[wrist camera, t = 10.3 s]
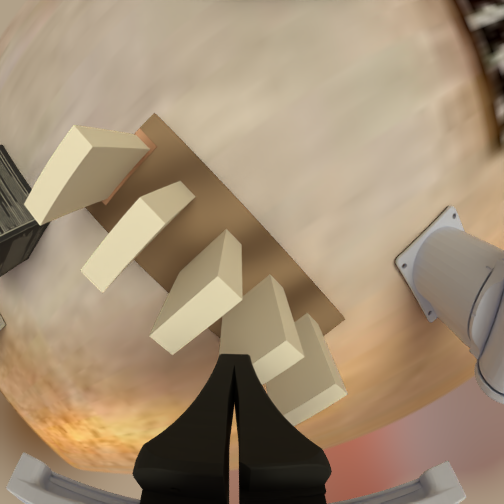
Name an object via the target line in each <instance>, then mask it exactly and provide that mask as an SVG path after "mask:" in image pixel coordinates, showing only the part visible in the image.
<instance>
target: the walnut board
mask: <svg viewBox="0 0 504 504" xmlns="http://www.w3.org/2000/svg"><path fill="white" fill-rule="evenodd" d="M134 135H137V136H138V137H139V138H140V139H141V140H142V141H143V142H144V143H145V145H146V146H147V147H148V148H149V149H150V150H149V151H148V152H147V153H146V154H145V155H144V156H143V158H142V159H141V160H140V161H139V162H138V163H137V164H136V165H135V166H134V168H133V169H132V170H131V171H130V172H129V173H128V174H127V176H126V177H125V178H124V179H123V180H122V181H121V183H120V184H119V185H118V186H117V187H116V189H115V190H114V191H113V192H112V194H111V195H110V196H109V197H108V199H105V200H102V201H100V202H97V203H94V204H92V205H89V206H86V209H87V210H88V211H89V212H90V213H91V214H92V215H93V216H94V218H95V219H96V220H97V221H98V222H99V223H100V224H101V225H102V226H103V227H104V229H105V230H106V231H107V232H108V233H110V231H111V230H112V229H113V228H114V227H115V225H116V224H117V223H118V222H119V221H120V219H121V218H122V217H123V216H124V215H125V214H126V212H127V211H128V210H129V209H130V208H131V207H132V205H133V204H134V203H135V202H136V201H137V200H138V199H139V198H140V197H141V196H144V195H146V194H148V193H151V192H153V191H156V190H158V189H161V188H163V187H166V186H168V185H171V184H173V183H176V182H178V181H181V182H182V183H183V184H184V185H185V186H186V187H187V188H188V189H189V190H190V191H191V192H192V193H193V194H194V195H195V196H196V197H195V198H194V199H193V200H192V201H191V202H190V203H189V204H188V205H187V206H186V207H185V208H184V209H183V210H182V211H181V212H180V213H179V214H178V215H177V216H176V217H175V218H174V219H173V220H172V221H171V222H170V223H169V224H168V225H167V226H166V227H165V228H164V229H163V230H162V231H161V232H160V233H159V234H158V235H157V236H156V237H155V238H154V239H153V240H152V241H151V242H150V243H149V244H148V245H147V246H146V247H145V248H144V249H143V250H142V251H141V253H140V254H139V255H138V256H137V257H136V258H135V259H134V260H135V261H136V262H137V263H138V264H139V265H140V266H141V267H142V268H143V269H144V270H145V271H146V272H147V273H148V274H149V275H150V276H151V277H153V278H154V279H155V280H156V281H157V282H158V283H159V284H160V285H161V286H162V287H163V288H164V289H165V290H166V291H167V292H168V293H170V290H171V288H172V286H173V284H174V282H175V280H176V278H177V276H178V274H179V272H180V271H181V270H182V269H183V268H184V267H186V266H187V265H188V264H189V263H190V262H191V261H192V260H193V259H194V258H195V257H196V256H197V255H198V254H199V253H201V252H202V251H203V250H204V249H205V248H206V247H207V246H208V245H209V244H210V243H211V242H212V241H214V240H215V239H216V238H217V237H218V236H219V235H220V234H221V233H222V232H223V231H225V230H226V229H227V230H228V231H229V232H230V233H231V234H232V235H233V236H234V237H235V238H236V239H237V240H238V241H239V242H240V243H241V245H242V297H243V296H244V295H245V294H246V293H248V292H249V291H250V290H251V289H253V288H254V287H255V286H256V285H257V284H259V283H260V282H261V281H262V280H263V279H265V278H266V277H267V276H268V275H269V274H270V275H271V276H272V277H273V278H274V279H275V280H276V281H277V282H278V283H279V284H280V285H281V286H282V287H283V289H284V292H285V295H286V298H287V301H288V304H289V308H290V311H291V314H292V317H293V320H294V322H296V321H297V320H298V319H300V318H301V317H302V316H304V315H305V314H306V313H308V314H309V315H310V316H311V317H312V318H313V319H314V320H315V321H316V322H317V323H318V325H319V327H320V330H321V332H322V334H323V336H324V335H325V334H327V333H328V332H329V331H331V330H332V329H333V328H335V327H336V326H337V325H338V324H340V323H341V322H342V321H344V320H345V319H344V317H343V316H342V314H341V313H340V312H339V311H338V310H337V309H336V308H335V306H334V305H333V304H332V303H331V302H330V301H329V300H328V298H327V297H326V296H325V295H324V294H323V293H322V292H321V290H320V289H319V288H318V287H317V286H316V285H315V284H314V283H313V281H312V280H311V279H310V278H309V277H308V276H307V275H306V273H305V272H304V271H303V270H302V269H301V268H300V267H299V266H298V265H297V263H296V262H295V261H294V260H293V259H292V258H291V257H290V256H289V255H288V253H287V252H286V251H285V250H284V249H283V248H282V247H281V246H280V245H279V243H278V242H277V241H276V240H275V239H274V238H273V237H272V236H271V235H270V234H269V232H268V231H267V230H266V229H265V228H264V227H263V226H262V225H261V224H260V223H259V222H258V220H257V219H256V218H255V217H254V216H253V215H252V214H251V213H250V212H249V211H248V210H247V209H246V207H245V206H244V205H243V204H242V203H241V202H240V201H239V200H238V199H237V198H236V197H235V196H234V195H233V194H232V192H231V191H230V190H229V189H228V188H227V187H226V186H225V185H224V184H223V183H222V182H221V181H220V180H219V179H218V178H217V177H216V175H215V174H214V173H213V172H212V171H211V170H210V169H209V168H208V167H207V166H206V165H205V164H204V163H203V162H202V161H201V160H200V159H199V158H198V157H197V156H196V154H195V153H194V152H193V151H192V150H191V149H190V148H189V147H188V146H187V145H186V144H185V143H184V142H183V141H182V140H181V139H180V138H179V137H178V136H177V135H176V134H175V133H174V132H173V131H172V130H171V129H170V128H169V127H168V126H167V125H166V124H165V123H164V122H163V121H162V120H161V119H160V118H159V117H158V116H157V115H156V114H155V113H154V114H153V115H152V116H151V117H150V118H149V119H148V120H147V121H146V122H145V123H144V124H143V125H142V126H141V127H140V128H139V129H138V130H137V132H136V133H135V134H134ZM221 327H222V317H221V318H219V319H218V320H217V321H215V322H214V323H213V324H212V325H210V326H209V327H208V328H209V329H210V330H211V331H212V332H213V333H214V334H216V335H217V336H218V337H219V338H220V337H221Z"/></svg>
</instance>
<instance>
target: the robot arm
mask: <svg viewBox="0 0 504 504" xmlns="http://www.w3.org/2000/svg"><path fill="white" fill-rule="evenodd" d="M453 214H454V215H453ZM452 216H453V217H452ZM404 263H405V265H404V267H402V265H403V264H404ZM396 265H397V267H398V268H399V270H400V272H401V273H402V275H403V277H404V279H405V280H406V282H407V284H408V285H409V287H410V289H411V291H412V292H413V294H414V296H415V298H416V299H417V301H418V303H419V305H420V307H421V309H422V310H423V312H424V314H425V316H426V318H427V320H428V321H429V322H433V321H434V320H435V319H436V318H439V319H440V320H441V321H442V322H443V323H444V324H445V325H446V326H447V327H448V328H449V329H450V330H451V331H452V332H453V333H454V334H455V335H456V336H457V337H458V338H459V339H460V340H461V341H462V342H463V343H464V344H465V345H467V346H468V347H469V348H470V352H471V353H472V354H473V355H474V356H475V357H476V359H477V361H476V364H475V369H474V372H475V378H476V380H477V383H478V385H479V386H480V388H481V389H482V390H483V391H484V393H485V394H486V395H487V396H488V397H490V398H491V399H493V400H494V401H496V402H499V403H502V404H504V250H502V249H500V248H498V247H496V246H494V245H492V244H490V243H488V242H485V241H483V240H481V239H479V238H477V237H475V236H473V235H470V234H468V233H466V232H465V231H464V228H463V226H462V223H461V221H460V218H459V216H458V214H457V211H456V209H455V207H453V206H449V207H448V208H447V209H446V210H445V211H444V212H443V213H442V214H441V215H440V216H439V217H438V218H437V219H436V220H435V221H434V222H433V223H432V224H431V225H430V226H429V227H428V228H427V229H426V230H425V231H424V232H423V233H422V234H421V235H420V236H419V237H418V238H417V239H416V240H415V241H414V242H413V243H412V244H411V245H410V246H409V247H408V248H407V249H406V250H405V251H404V252H403V253H401V254H400V255H399V256H398V257H397V259H396ZM429 311H430V312H429ZM428 312H429V313H428ZM234 402H235V413H236V422H237V431H238V442H239V504H327V503H326V499H325V493H326V489H325V483H326V481H327V480H328V478H329V477H330V475H331V472H332V471H331V467H330V464H329V461H328V459H327V457H326V455H325V453H324V451H323V450H322V448H320V447H319V446H317V445H316V444H314V443H313V442H312V441H310V440H309V439H308V438H306V437H305V436H304V435H303V434H301V433H300V432H299V431H298V430H297V429H296V428H295V427H294V426H293V425H292V424H291V423H290V422H289V421H288V420H287V419H286V418H285V417H284V416H283V415H282V414H281V412H280V411H279V410H278V409H277V407H276V406H275V405H274V403H273V402H272V401H271V399H270V398H269V396H268V395H267V393H266V391H265V390H264V388H263V386H262V384H261V383H260V381H259V379H258V377H257V375H256V372H255V370H254V368H253V365H252V362H251V358H250V356H249V355H248V354H221V355H219V358H218V361H217V364H216V366H215V368H214V370H213V372H212V374H211V376H210V378H209V380H208V381H207V383H206V385H205V386H204V388H203V389H202V391H201V392H200V394H199V395H198V396H197V398H196V399H195V400H194V402H193V403H192V404H191V405H190V407H189V408H188V409H187V410H186V411H185V412H184V413H183V414H182V415H181V416H180V417H179V418H178V419H177V420H176V421H175V422H174V423H173V424H172V425H170V426H169V427H168V428H167V429H165V430H164V431H163V432H162V433H160V434H159V435H158V436H156V437H155V438H153V439H152V440H150V441H149V442H147V443H145V444H144V445H143V447H142V448H141V450H140V452H139V454H138V457H137V459H136V462H135V466H134V470H133V476H134V478H135V479H136V481H137V482H138V484H139V485H140V487H141V488H142V489H143V490H142V495H141V500H138V499H133V498H129V497H125V496H122V495H118V494H114V493H111V492H107V491H104V490H101V489H97V488H94V487H92V486H89V485H86V484H83V483H80V482H77V481H75V480H72V479H70V478H67V477H65V476H62V475H60V474H57V473H55V472H53V471H51V469H50V468H49V467H48V466H47V465H46V464H45V463H44V462H42V461H40V460H39V459H36V458H34V457H32V456H30V455H28V454H26V453H23V454H22V456H21V458H20V460H19V462H18V464H17V466H16V468H15V470H14V472H13V474H12V476H11V478H10V481H9V483H8V485H7V487H6V488H7V490H8V491H10V492H11V493H12V494H13V495H14V496H16V497H17V498H18V499H19V500H21V501H22V502H23V503H25V504H229V445H230V434H231V426H232V419H233V410H234ZM465 498H466V495H465V493H464V491H463V488H462V486H461V484H460V482H459V481H458V479H457V477H456V475H455V473H454V471H453V469H452V467H451V465H450V463H449V461H446V462H444V463H441V464H439V465H437V466H435V467H432V468H430V469H428V470H427V471H425V472H424V473H423V474H422V475H421V476H420V477H419V478H418V479H416V480H413V481H410V482H408V483H405V484H402V485H399V486H396V487H393V488H390V489H387V490H384V491H380V492H377V493H373V494H370V495H366V496H362V497H358V498H354V499H349V500H345V501H340V502H335V503H329V504H459V503H460V502H461V501H463V500H464V499H465Z"/></svg>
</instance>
